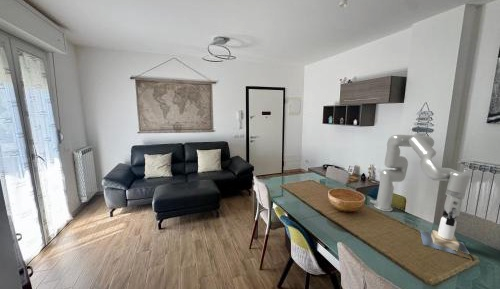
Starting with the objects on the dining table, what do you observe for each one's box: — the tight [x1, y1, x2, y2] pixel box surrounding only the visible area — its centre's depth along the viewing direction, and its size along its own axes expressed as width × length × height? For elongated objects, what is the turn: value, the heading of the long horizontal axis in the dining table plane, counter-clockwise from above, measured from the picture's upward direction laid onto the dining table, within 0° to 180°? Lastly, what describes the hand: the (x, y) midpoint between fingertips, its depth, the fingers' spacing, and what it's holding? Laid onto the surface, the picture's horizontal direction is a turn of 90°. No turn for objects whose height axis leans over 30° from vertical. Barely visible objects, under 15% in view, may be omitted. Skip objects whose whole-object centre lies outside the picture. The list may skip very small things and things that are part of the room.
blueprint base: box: [419, 229, 471, 255], centre depth 120 cm, size 20×18×5 cm
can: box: [437, 214, 457, 240], centre depth 118 cm, size 6×6×12 cm
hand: (447, 221), depth 118 cm, fingers open, 9 cm apart
